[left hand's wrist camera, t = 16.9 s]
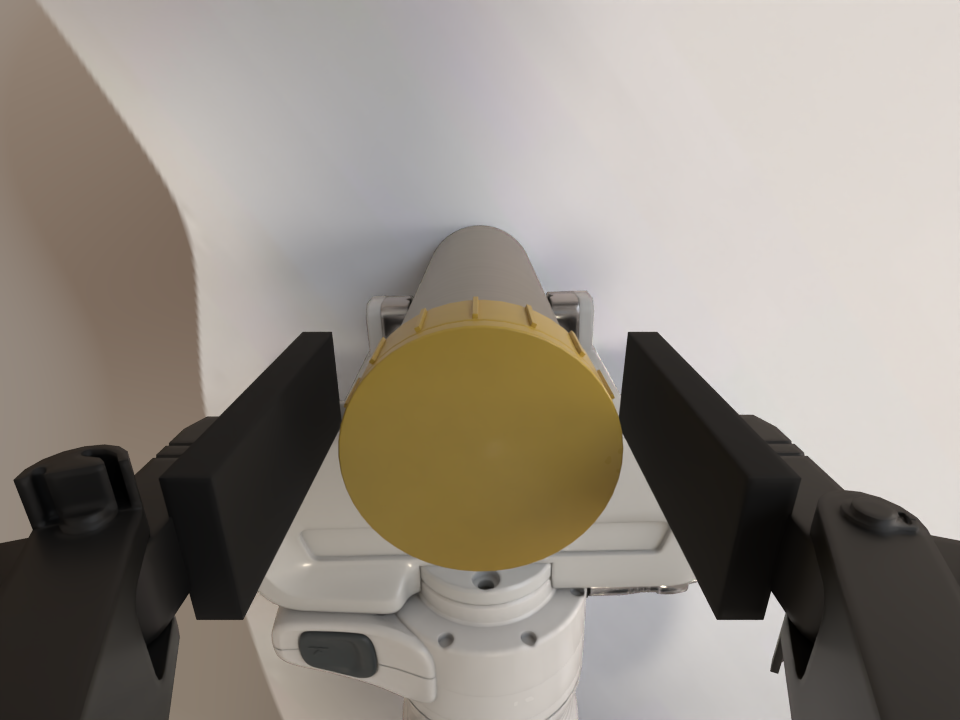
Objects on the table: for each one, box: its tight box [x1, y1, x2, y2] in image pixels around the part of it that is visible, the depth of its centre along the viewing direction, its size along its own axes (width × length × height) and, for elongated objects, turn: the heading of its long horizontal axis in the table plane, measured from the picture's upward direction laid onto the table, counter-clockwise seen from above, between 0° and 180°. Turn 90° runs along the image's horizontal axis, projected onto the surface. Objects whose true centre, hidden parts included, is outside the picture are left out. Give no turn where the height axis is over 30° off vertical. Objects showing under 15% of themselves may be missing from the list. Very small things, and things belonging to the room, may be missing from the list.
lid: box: [338, 296, 623, 572], centre depth 11 cm, size 6×6×2 cm
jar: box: [402, 226, 559, 325], centre depth 18 cm, size 5×5×16 cm
